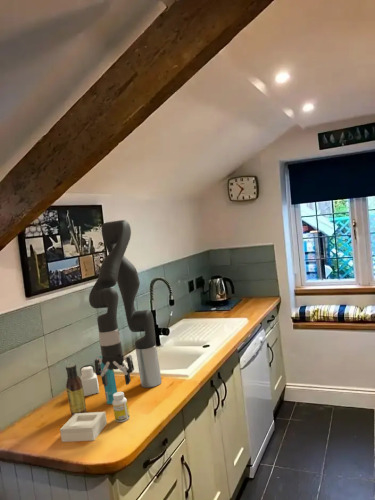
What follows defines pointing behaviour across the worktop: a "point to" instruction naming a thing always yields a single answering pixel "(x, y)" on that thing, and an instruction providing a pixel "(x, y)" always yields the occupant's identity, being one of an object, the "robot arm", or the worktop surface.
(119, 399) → the supplement bottle
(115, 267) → the robot arm
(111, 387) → the tube
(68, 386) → the sauce bottle
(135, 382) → the worktop surface
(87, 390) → the medicine bottle
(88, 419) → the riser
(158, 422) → the worktop surface
